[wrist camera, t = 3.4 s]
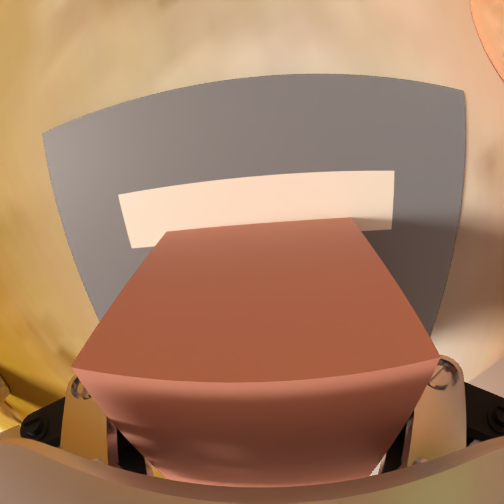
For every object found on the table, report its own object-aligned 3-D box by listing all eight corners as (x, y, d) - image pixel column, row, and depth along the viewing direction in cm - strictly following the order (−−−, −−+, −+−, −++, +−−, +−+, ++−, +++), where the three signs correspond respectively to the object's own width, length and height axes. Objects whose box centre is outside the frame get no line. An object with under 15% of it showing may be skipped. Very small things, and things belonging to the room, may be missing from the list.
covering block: (350, 217, 9) (440, 356, 3) (339, 351, 11) (365, 480, 6) (166, 231, 9) (70, 366, 4) (201, 358, 12) (172, 483, 7)
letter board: (457, 91, 7) (463, 90, 6) (404, 388, 13) (406, 393, 13) (48, 132, 8) (41, 133, 8) (147, 399, 15) (146, 405, 14)
